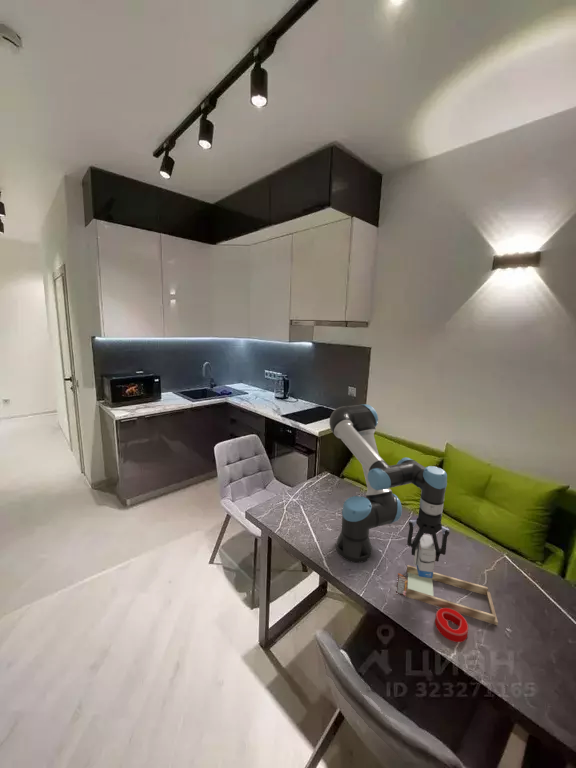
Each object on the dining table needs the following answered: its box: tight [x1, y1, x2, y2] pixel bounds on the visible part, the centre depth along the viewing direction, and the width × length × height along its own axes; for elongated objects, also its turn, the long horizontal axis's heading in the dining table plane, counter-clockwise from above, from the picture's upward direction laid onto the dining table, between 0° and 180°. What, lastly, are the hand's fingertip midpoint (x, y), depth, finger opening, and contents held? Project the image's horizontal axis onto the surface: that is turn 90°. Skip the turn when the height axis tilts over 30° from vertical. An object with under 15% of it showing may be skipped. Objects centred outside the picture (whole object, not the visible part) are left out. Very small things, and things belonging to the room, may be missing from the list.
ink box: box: [415, 533, 436, 578], centre depth 117 cm, size 8×5×12 cm, turn 168°
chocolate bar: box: [395, 573, 408, 597], centre depth 121 cm, size 11×5×1 cm, turn 155°
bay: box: [405, 564, 499, 626], centre depth 117 cm, size 29×13×3 cm, turn 69°
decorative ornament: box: [434, 607, 469, 643], centre depth 105 cm, size 10×10×3 cm
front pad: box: [407, 572, 435, 597], centre depth 121 cm, size 9×11×1 cm
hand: (423, 564), depth 118 cm, fingers closed on ink box, 5 cm apart
